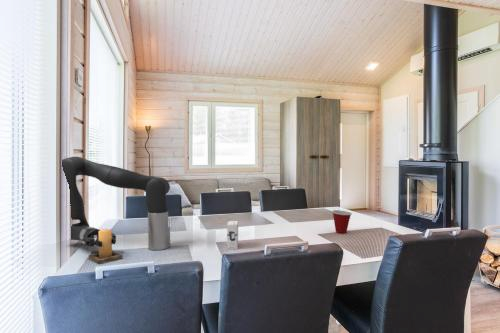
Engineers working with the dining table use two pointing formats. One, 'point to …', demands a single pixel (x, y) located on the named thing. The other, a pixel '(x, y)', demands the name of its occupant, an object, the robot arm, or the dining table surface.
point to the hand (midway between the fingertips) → (107, 243)
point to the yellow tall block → (105, 243)
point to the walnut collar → (99, 261)
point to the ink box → (232, 235)
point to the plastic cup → (341, 220)
